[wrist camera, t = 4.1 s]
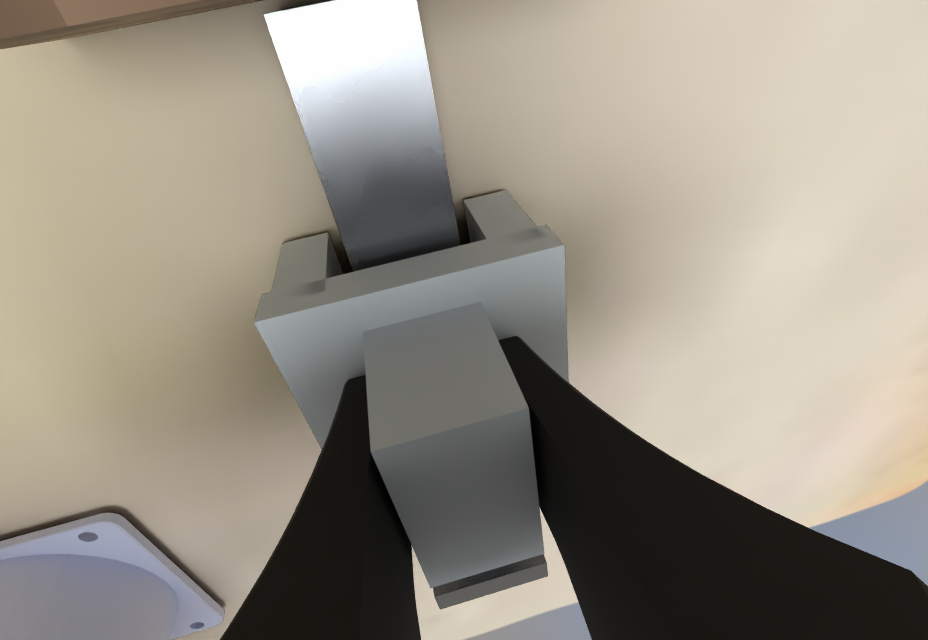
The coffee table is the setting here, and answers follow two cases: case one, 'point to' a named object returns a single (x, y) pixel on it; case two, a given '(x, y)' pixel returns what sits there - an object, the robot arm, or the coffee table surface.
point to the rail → (378, 156)
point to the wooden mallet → (88, 16)
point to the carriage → (433, 375)
